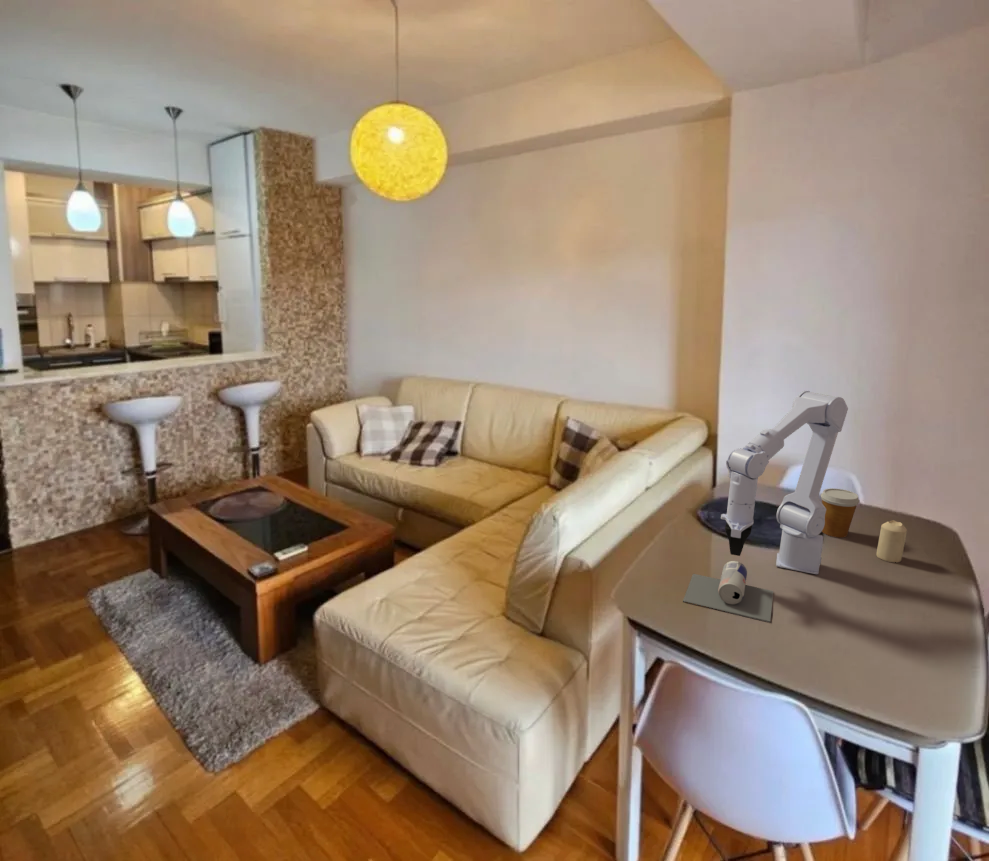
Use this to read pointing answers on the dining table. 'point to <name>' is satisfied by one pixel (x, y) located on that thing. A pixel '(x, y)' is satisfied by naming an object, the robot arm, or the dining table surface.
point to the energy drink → (732, 582)
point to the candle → (891, 541)
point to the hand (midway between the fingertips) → (735, 554)
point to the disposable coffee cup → (838, 511)
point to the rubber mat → (751, 605)
